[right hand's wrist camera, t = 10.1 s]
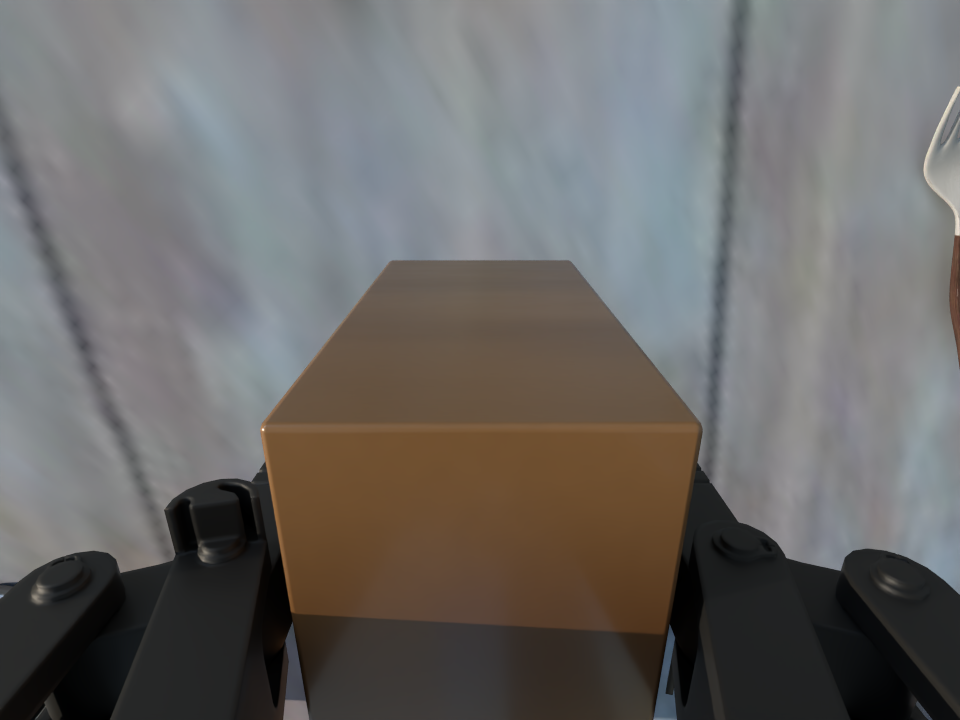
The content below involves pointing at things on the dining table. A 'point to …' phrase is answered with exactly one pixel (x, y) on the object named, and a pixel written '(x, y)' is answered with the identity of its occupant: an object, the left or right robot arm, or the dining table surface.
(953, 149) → the fork
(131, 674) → the right robot arm
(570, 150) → the dining table surface
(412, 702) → the bar
